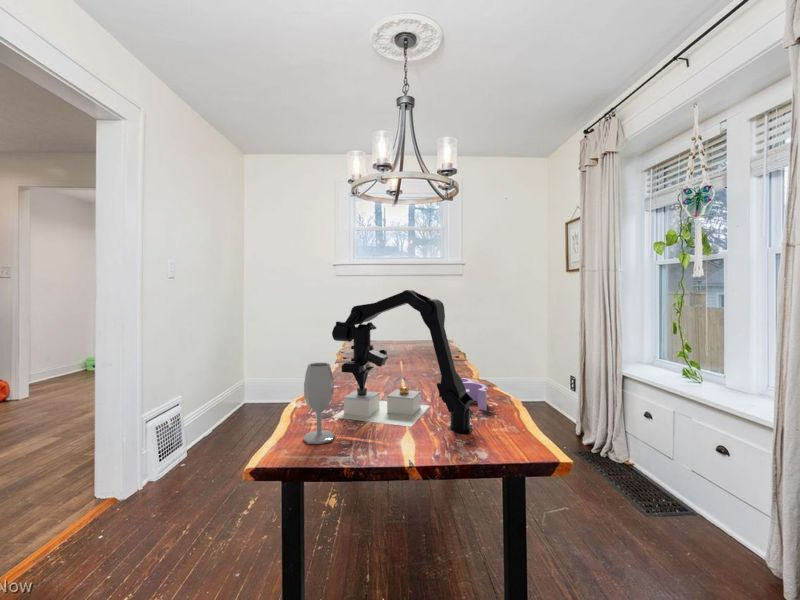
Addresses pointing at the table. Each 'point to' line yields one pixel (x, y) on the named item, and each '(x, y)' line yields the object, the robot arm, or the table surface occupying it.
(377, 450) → the table surface
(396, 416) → the board
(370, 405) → the white square block
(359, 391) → the plunger
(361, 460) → the table surface
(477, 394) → the clip
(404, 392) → the plunger
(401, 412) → the white square box
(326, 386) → the wineglass
